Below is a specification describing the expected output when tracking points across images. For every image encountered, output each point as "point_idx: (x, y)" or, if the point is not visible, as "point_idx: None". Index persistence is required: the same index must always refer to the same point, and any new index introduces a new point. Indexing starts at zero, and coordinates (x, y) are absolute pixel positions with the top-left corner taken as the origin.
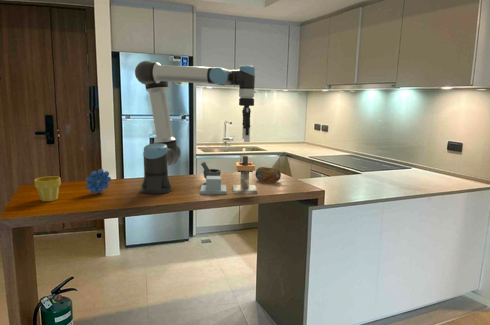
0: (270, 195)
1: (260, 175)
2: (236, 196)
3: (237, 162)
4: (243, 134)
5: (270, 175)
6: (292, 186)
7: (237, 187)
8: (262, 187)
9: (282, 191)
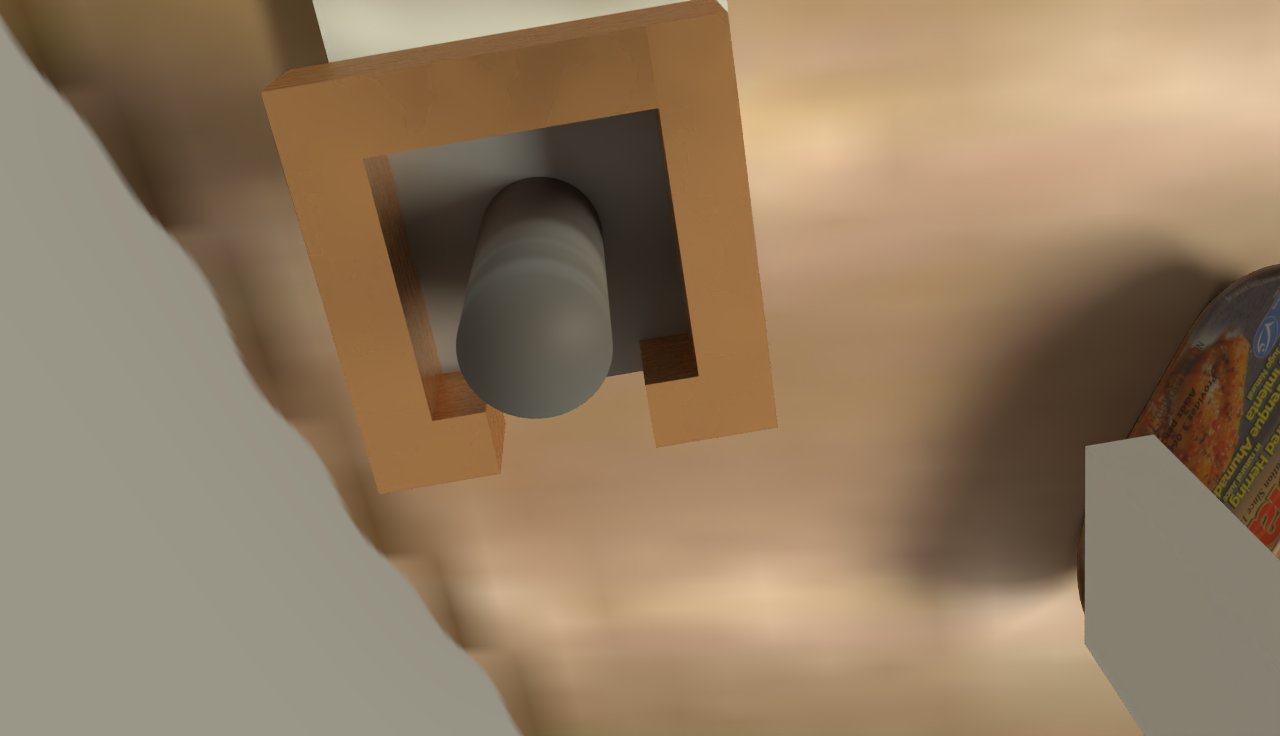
0: (359, 497)
1: (1267, 346)
2: (149, 39)
3: (709, 60)
4: (1188, 611)
5: None
6: (888, 721)
7: (532, 12)
8: (785, 371)
9: (604, 622)
